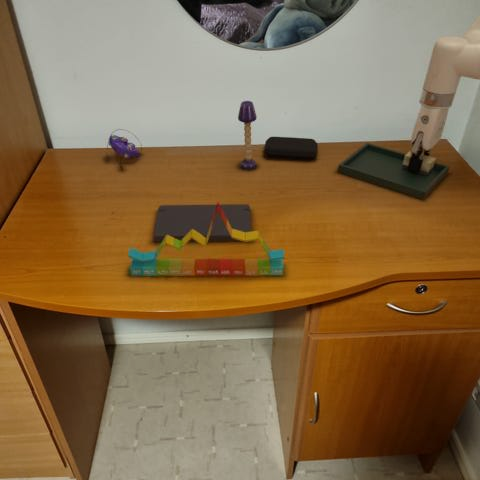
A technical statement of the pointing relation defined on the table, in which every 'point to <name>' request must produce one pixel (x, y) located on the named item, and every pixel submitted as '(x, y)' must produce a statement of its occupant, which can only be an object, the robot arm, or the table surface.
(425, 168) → the wooden block
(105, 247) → the table surface
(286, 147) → the carrying case
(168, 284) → the table surface
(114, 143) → the purple ringed ornament
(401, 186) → the tray
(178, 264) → the chart
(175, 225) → the notebook
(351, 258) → the table surface
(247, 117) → the toy lamp
